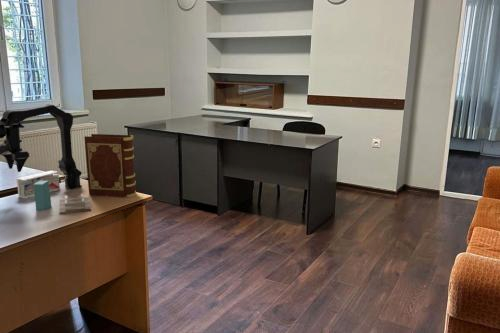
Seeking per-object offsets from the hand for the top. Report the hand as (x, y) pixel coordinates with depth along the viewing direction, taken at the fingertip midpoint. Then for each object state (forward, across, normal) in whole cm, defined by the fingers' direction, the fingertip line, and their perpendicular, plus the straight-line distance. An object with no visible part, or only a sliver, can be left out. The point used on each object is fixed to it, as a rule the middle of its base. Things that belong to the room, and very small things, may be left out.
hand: (14, 170), depth 197 cm
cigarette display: (+14, -3, +13) cm, 19 cm away
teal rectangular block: (+14, +21, +3) cm, 26 cm away
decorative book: (+13, +27, +35) cm, 46 cm away
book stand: (+14, +30, +13) cm, 35 cm away
